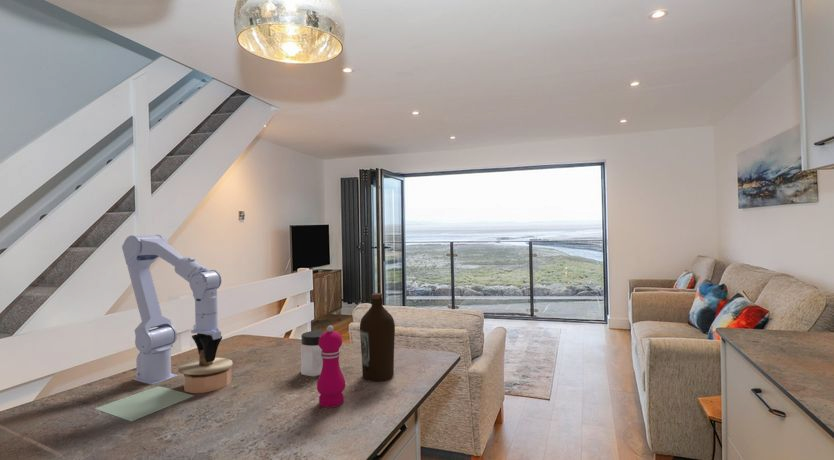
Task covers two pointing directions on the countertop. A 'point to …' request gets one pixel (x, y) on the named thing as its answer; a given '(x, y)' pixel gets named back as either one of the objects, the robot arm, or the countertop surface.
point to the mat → (144, 403)
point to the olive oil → (377, 341)
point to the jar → (311, 354)
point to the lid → (204, 365)
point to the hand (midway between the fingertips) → (207, 359)
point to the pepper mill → (330, 370)
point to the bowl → (207, 381)
